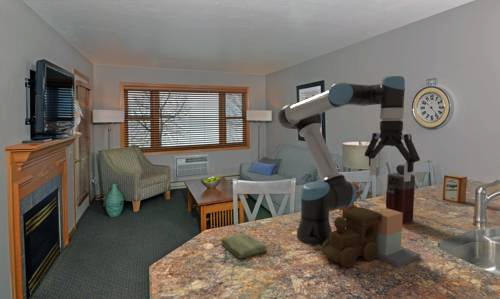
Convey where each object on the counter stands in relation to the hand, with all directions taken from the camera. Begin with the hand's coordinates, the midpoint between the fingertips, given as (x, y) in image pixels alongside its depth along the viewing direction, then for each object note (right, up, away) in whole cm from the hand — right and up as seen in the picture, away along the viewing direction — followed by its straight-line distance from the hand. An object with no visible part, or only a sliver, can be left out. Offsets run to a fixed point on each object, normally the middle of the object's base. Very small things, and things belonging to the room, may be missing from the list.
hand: (389, 178), depth 106 cm
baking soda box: (+75, -22, +71) cm, 105 cm away
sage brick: (0, -27, +3) cm, 27 cm away
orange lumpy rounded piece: (+2, -24, +47) cm, 53 cm away
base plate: (0, -29, +3) cm, 29 cm away
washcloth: (-54, -29, +8) cm, 62 cm away
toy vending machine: (+23, -25, +38) cm, 51 cm away
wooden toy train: (-15, -29, -1) cm, 33 cm away
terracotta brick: (0, -20, +2) cm, 20 cm away
